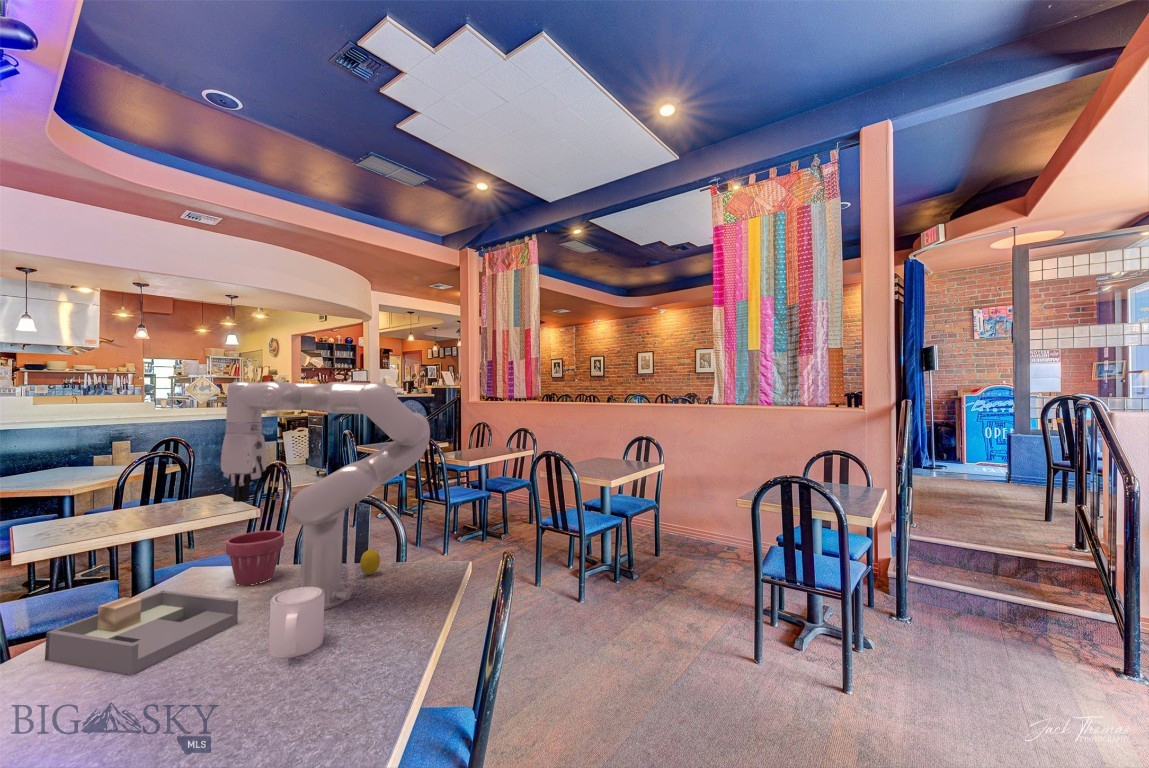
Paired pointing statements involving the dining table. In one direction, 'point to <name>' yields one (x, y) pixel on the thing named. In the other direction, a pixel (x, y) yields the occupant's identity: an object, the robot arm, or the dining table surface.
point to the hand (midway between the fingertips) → (241, 500)
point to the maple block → (119, 614)
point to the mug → (296, 621)
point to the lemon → (370, 561)
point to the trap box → (143, 633)
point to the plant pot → (254, 555)
